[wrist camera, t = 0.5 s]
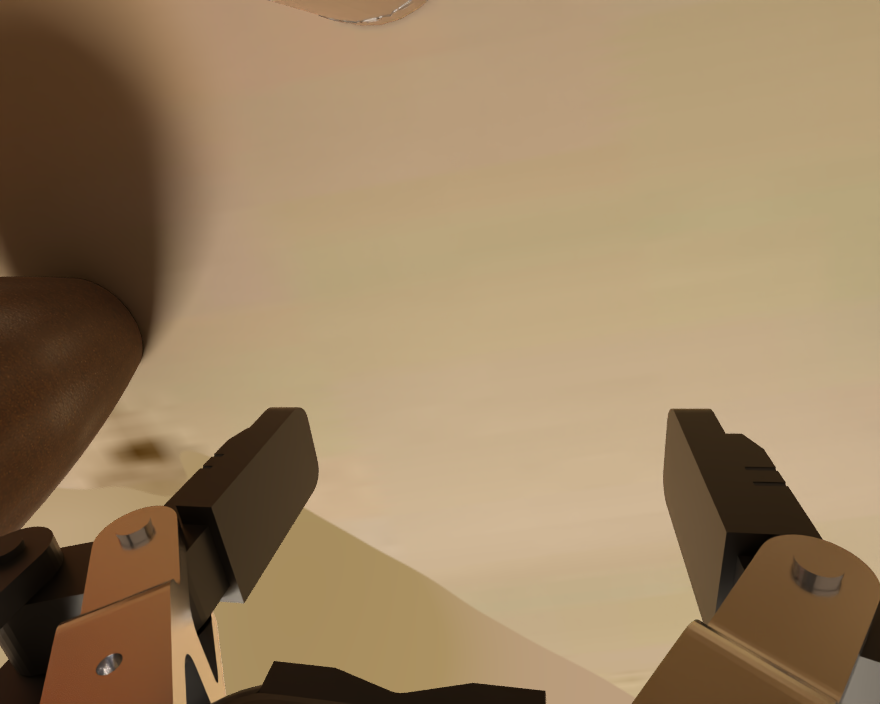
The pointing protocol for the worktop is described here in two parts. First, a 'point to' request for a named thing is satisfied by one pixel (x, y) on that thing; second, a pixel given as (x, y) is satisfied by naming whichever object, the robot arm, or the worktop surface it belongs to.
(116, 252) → the worktop surface
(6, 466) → the plant pot
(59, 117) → the worktop surface
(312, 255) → the worktop surface
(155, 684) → the robot arm
